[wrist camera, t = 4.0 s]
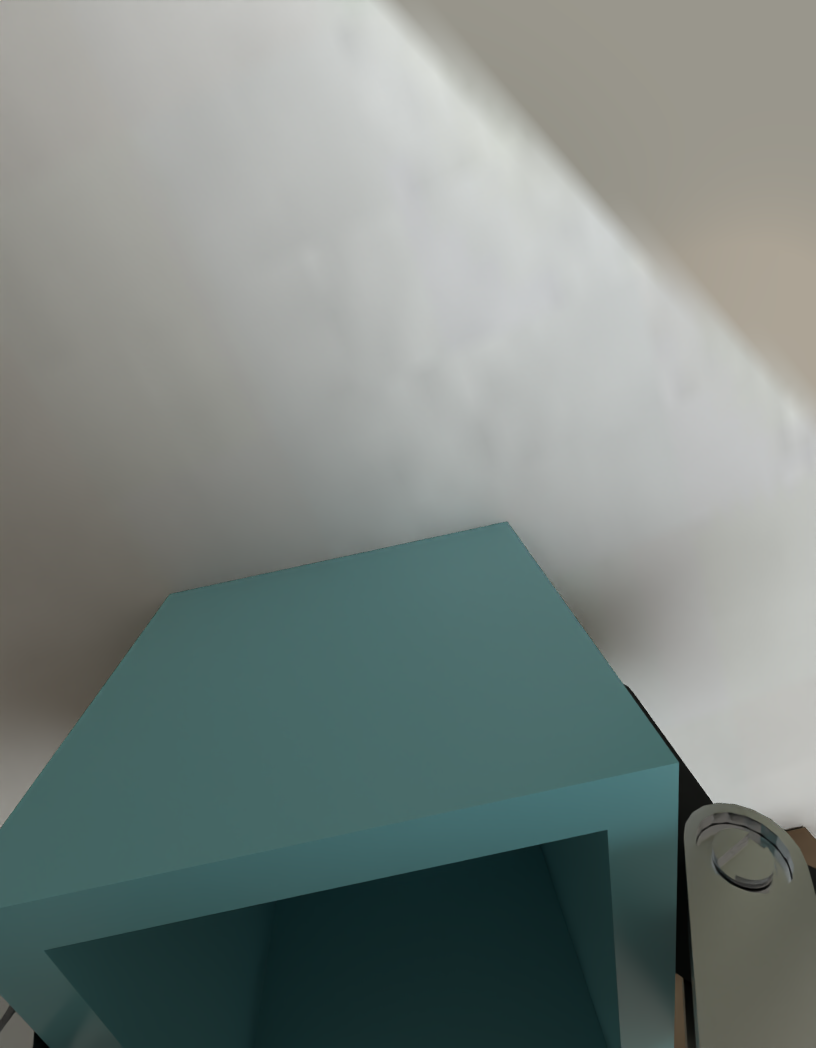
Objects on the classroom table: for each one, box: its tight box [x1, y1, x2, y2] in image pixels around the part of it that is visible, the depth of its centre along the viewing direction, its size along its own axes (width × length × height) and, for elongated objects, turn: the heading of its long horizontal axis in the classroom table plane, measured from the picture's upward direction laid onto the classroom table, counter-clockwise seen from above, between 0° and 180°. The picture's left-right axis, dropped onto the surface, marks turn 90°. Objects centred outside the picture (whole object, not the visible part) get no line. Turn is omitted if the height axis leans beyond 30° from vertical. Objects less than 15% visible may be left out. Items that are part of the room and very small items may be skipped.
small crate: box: [0, 522, 679, 1048], centre depth 9 cm, size 7×7×6 cm
